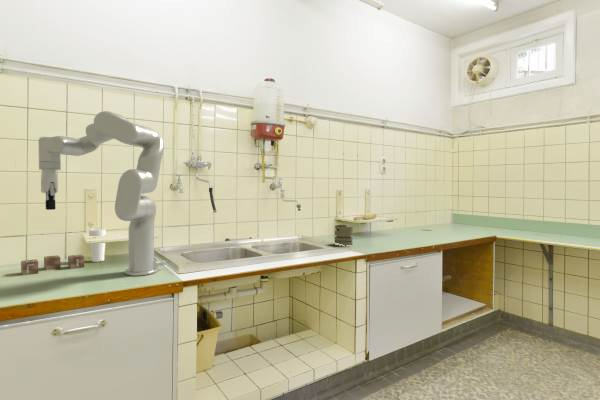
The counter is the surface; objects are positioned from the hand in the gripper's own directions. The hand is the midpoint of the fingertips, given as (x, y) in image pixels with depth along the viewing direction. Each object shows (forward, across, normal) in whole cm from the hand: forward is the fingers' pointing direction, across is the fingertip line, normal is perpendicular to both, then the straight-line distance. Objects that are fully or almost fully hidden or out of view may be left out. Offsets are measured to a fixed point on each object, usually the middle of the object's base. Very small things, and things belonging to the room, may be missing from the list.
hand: (50, 209), depth 148 cm
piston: (+25, +44, +144) cm, 153 cm away
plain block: (+25, +2, 0) cm, 25 cm away
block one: (+25, +6, +8) cm, 27 cm away
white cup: (+25, -1, +18) cm, 31 cm away
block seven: (+25, +6, -8) cm, 27 cm away
